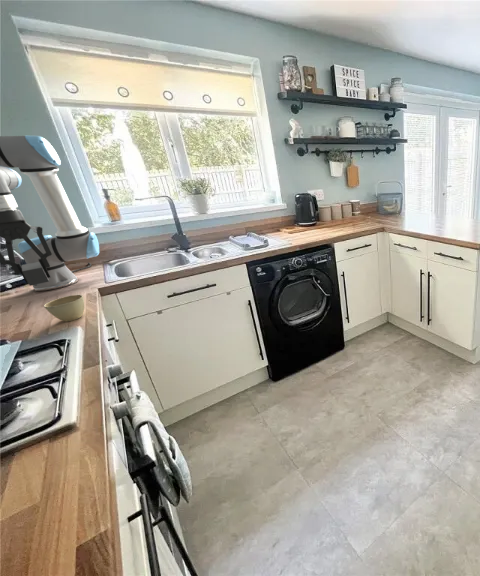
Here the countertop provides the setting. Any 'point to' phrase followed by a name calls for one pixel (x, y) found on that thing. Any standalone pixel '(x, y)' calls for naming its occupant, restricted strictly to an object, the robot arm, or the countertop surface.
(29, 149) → the robot arm
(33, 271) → the bar
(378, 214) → the countertop surface
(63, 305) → the olive yellow bowl
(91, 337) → the countertop surface
